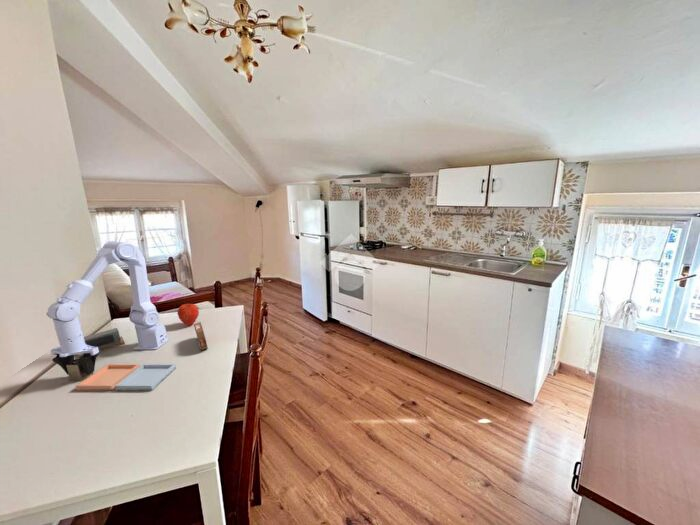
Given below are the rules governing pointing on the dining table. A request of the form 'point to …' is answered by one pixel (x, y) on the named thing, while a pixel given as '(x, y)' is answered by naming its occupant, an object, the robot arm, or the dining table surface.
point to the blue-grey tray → (146, 377)
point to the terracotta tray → (107, 377)
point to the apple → (188, 314)
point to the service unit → (104, 340)
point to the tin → (200, 336)
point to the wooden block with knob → (76, 371)
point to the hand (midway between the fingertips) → (81, 372)
